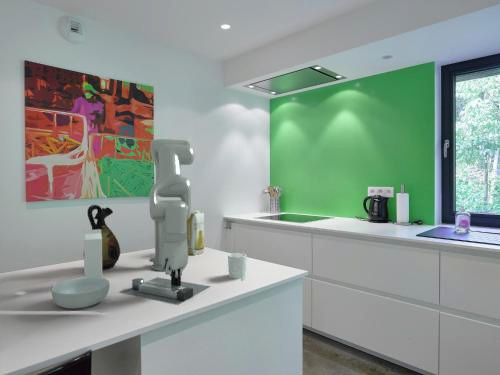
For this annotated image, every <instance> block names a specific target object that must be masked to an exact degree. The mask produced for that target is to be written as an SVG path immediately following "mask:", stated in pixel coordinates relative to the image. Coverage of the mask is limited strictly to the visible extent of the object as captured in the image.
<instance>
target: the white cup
mask: <svg viewBox="0 0 500 375" xmlns="http://www.w3.org/2000/svg"><path fill="white" fill-rule="evenodd" d="M247 257H248V256H247V254H246V253H242V252H233V253H229V254H227V263H228V264H227V265H228V266H227V267H228V276H229V279H230V278H231V279H234V280H235V279H236V280H237V279H239V280H240V281H244V280H245V279H246V272H247Z"/></svg>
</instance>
